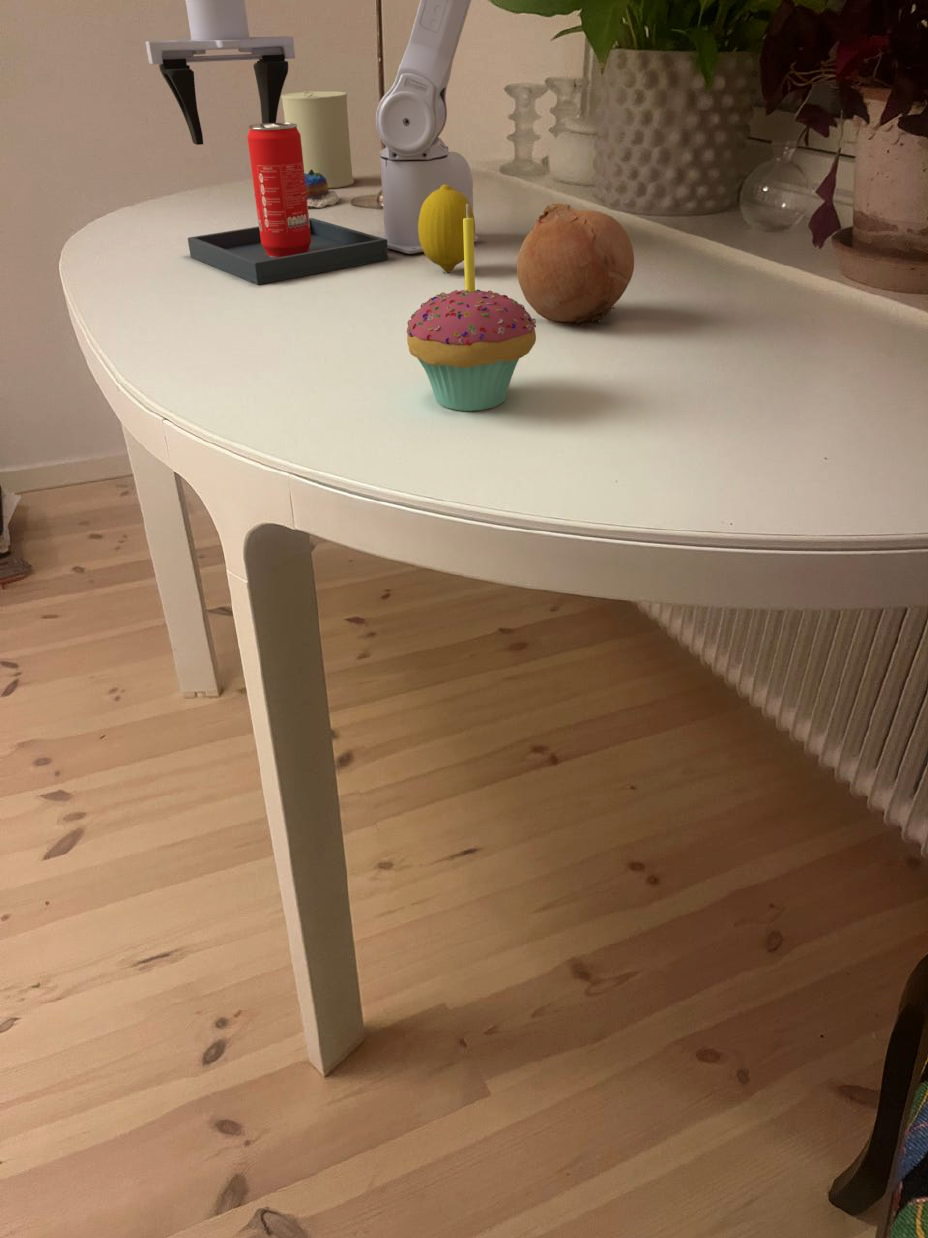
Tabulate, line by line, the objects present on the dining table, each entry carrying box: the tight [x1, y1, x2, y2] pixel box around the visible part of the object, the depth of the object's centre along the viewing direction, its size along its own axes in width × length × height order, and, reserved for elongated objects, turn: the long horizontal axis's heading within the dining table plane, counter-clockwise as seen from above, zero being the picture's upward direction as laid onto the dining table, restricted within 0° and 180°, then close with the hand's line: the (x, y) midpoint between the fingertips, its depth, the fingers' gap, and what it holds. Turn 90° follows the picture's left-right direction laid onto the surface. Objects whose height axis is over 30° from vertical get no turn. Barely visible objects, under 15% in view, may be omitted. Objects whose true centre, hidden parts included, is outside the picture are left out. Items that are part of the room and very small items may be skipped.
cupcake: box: [406, 204, 537, 412], centre depth 61 cm, size 9×8×12 cm
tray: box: [187, 217, 389, 286], centre depth 99 cm, size 15×15×2 cm
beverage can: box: [246, 122, 311, 258], centre depth 96 cm, size 5×5×12 cm
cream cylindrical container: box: [280, 90, 355, 190], centre depth 135 cm, size 9×9×12 cm
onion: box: [516, 202, 635, 326], centre depth 77 cm, size 10×9×10 cm
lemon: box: [418, 184, 476, 273], centre depth 91 cm, size 6×6×8 cm
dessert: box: [304, 169, 340, 208], centre depth 125 cm, size 8×7×6 cm
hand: (234, 140), depth 100 cm, fingers open, 7 cm apart
